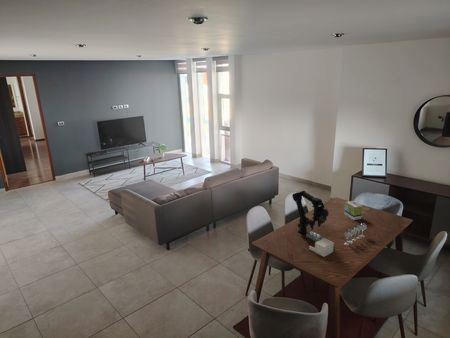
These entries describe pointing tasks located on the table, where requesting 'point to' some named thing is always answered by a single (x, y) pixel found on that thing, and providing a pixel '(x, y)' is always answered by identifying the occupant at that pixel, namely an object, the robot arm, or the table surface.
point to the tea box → (353, 210)
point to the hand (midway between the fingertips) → (315, 228)
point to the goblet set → (354, 230)
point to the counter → (323, 247)
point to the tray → (314, 236)
